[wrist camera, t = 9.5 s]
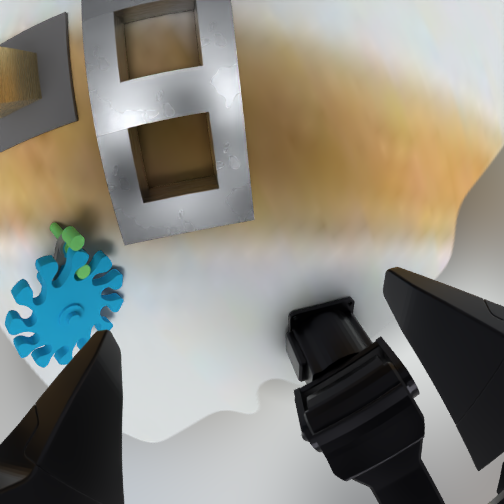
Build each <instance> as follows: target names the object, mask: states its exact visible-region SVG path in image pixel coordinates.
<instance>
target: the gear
mask: <svg viewBox="0 0 504 504" xmlns="http://www.w3.org/2000/svg"><path fill="white" fill-rule="evenodd" d="M50 230H51V232H52V233H53V234H54V235H55V237H56V238H57V239H58V240H57V243H56V248H55V254H54V258H53V257H52V255H47V256H44V257H41V258H39V259H37V260H36V263H35V266H36V269H37V270H38V273H37V279H38V280H39V282H40V284H41V285H42V289H41V293H40V295H39V296H37V297H35V298H33V291H32V289H31V288H30V286H29V284H28V282H27V281H26V280H24V279H22V280H20V281H19V282H18V283H17V284H16V285H15V286H14V287H13V288H12V290H11V293H12V295H13V297H14V299H15V301H16V302H17V303H18V304H19V305H24V306H27V307H29V308H30V309H32V310H33V313H32V315H31V316H30V317H29V318H27V319H23V318H21V317H20V315H19V313H18V312H17V311H14V310H11V311H9V312H8V314H7V316H6V320H5V326H6V328H7V330H8V332H9V334H11V335H17V334H19V333H22V332H33V333H35V334H34V335H33V336H31V337H25V336H17V337H15V338H14V345H15V347H16V349H17V351H18V353H19V355H20V356H21V358H24V357H26V356H28V355H29V354H30V353H31V352H32V351H33V350H34V349H35V350H34V351H33V352H32V354H31V355H32V357H33V359H34V361H35V362H36V364H37V365H39V366H41V367H43V368H44V367H46V366H47V365H48V364H49V361H50V359H51V357H52V356H53V354H54V353H55V354H54V357H55V358H56V360H57V361H58V363H59V364H61V365H65V364H68V363H69V362H70V361H71V360H72V351H73V348H74V346H75V345H76V343H77V346H78V348H79V349H81V348H82V347H83V346H84V345H85V344H86V343H87V341H88V340H89V339H90V334H91V329H92V327H93V326H94V325H95V328H96V329H97V330H98V331H100V330H106V329H107V330H110V329H111V328H112V327H113V324H112V323H111V322H110V321H109V320H108V319H107V318H106V317H103V316H101V315H100V311H101V309H102V308H103V307H104V306H108V308H109V309H110V310H111V311H112V312H118V310H119V309H120V307H121V305H122V303H123V299H122V298H121V297H120V296H119V295H118V294H117V293H112V294H109V295H101V293H102V291H103V290H104V289H105V288H107V287H110V288H112V289H114V290H117V289H119V288H120V287H121V286H122V283H123V275H122V274H121V273H120V272H119V271H118V270H117V269H112V270H110V268H111V267H112V262H111V260H110V259H109V258H108V257H107V256H106V255H105V254H104V253H103V252H102V251H101V250H100V251H98V252H96V253H95V255H94V256H93V258H92V260H91V261H90V263H89V264H87V261H88V259H89V255H88V254H87V252H86V251H85V250H84V249H83V248H82V247H83V245H84V242H85V240H84V237H83V236H82V235H81V234H80V233H79V232H78V231H77V230H76V229H75V228H74V227H72V226H68V227H66V228H65V229H64V230H63V229H62V228H61V227H60V226H59V225H58V224H57V223H52V224H51V226H50ZM108 270H110V271H109V272H108V273H107V274H105V275H104V276H102V277H100V278H97V279H93V277H94V276H95V275H96V274H98V273H104V272H107V271H108ZM77 341H78V342H77ZM43 345H45V346H44V347H41V348H38V347H40V346H43ZM36 348H37V349H36Z"/></svg>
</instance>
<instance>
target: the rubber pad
mask: <svg viewBox="0 0 504 504" xmlns="http://www.w3.org/2000/svg"><path fill="white" fill-rule="evenodd" d="M0 46H1V47H7V48H13V49H18V50H24V51H29V52H33V53H37V62H38V72H39V81H40V88H41V95H42V99H40V100H38V101H35V102H33V103H31V104H29V105H27V106H25V107H23V108H21V109H19V110H17V111H15V112H13V113H11V114H9V115H7V116H6V117H3V118H0V152H2V151H4V150H6V149H8V148H11V147H13V146H15V145H17V144H19V143H21V142H24V141H26V140H28V139H31V138H33V137H35V136H38V135H40V134H43V133H45V132H48V131H50V130H53V129H55V128H58V127H61V126H63V125H66V124H69V123H72V122H75V121H78V116H77V110H76V104H75V97H74V90H73V82H72V74H71V65H70V54H69V41H68V21H67V13H66V12H64V13H62V14H59V15H57V16H55V17H52V18H50V19H48V20H46V21H44V22H42V23H39V24H37V25H35V26H33V27H31V28H29V29H27V30H25V31H24V32H22V33H20V34H18V35H16V36H14V37H13V38H11V39H9V40H7V41H6V42H4V43H2V44H1V45H0Z"/></svg>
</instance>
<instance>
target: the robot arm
mask: <svg viewBox="0 0 504 504" xmlns="http://www.w3.org/2000/svg"><path fill="white" fill-rule="evenodd" d="M383 294H384V297H385V299H386V301H387V303H388V305H389V307H390V309H391V311H392V312H393V314H394V316H395V318H396V320H397V322H398V324H399V326H400V328H401V330H402V332H403V334H404V335H405V337H406V338H407V340H408V342H409V343H410V345H411V347H412V348H413V350H414V351H415V353H416V355H417V356H418V358H419V360H420V361H421V363H422V365H423V366H424V368H425V370H426V372H427V373H428V375H429V377H430V378H431V380H432V382H433V384H434V385H435V387H436V389H437V391H438V392H439V394H440V396H441V398H442V400H443V402H444V404H445V405H446V407H447V409H448V411H449V413H450V415H451V417H452V419H453V420H454V422H455V424H456V427H457V429H458V431H459V433H460V435H461V437H462V439H463V441H464V443H465V445H466V447H467V449H468V451H469V453H470V455H471V457H472V460H473V462H474V464H475V466H476V468H477V470H478V471H480V470H481V469H482V468H484V467H485V466H486V465H488V464H489V463H490V462H492V461H493V460H494V459H496V458H497V457H498V456H499V455H500V454H502V453H503V452H504V307H503V306H501V305H498V304H495V303H493V302H490V301H488V300H485V299H484V300H483V299H482V298H480V297H478V296H475V295H472V294H469V293H467V292H465V291H462V290H459V289H457V288H454V287H451V286H449V285H446V284H443V283H441V282H438V281H435V280H433V279H430V278H427V277H424V276H422V275H419V274H416V273H413V272H411V271H408V270H405V269H402V268H399V267H395V268H391V269H388V270H387V271H386V274H385V280H384V286H383ZM353 309H354V300H353V299H352V298H351V297H348V298H344V299H341V300H337V301H333V302H330V303H326V304H322V305H318V306H314V307H310V308H306V309H302V310H298V311H294V312H292V313H290V315H289V332H287V334H286V351H287V353H288V356H289V358H290V361H291V363H292V365H293V368H294V370H295V373H296V375H297V378H298V380H299V381H301V382H302V381H306V384H307V385H305V386H303V387H301V388H298V389H296V390H294V394H295V403H296V408H297V413H298V417H299V422H300V427H301V431H302V438H303V439H304V440H305V441H308V442H310V444H311V445H312V446H313V448H314V449H316V450H317V451H318V452H323V454H324V455H325V457H326V458H327V461H328V463H329V464H330V467H331V469H332V471H333V473H334V474H335V475H336V476H337V477H339V478H340V479H342V480H344V481H348V480H350V479H353V480H355V481H357V482H359V483H361V484H364V485H366V486H368V487H370V489H371V490H372V492H373V494H374V495H375V497H376V499H377V501H378V502H379V504H445V503H444V501H443V499H442V497H441V495H440V493H439V491H438V489H437V487H436V486H435V484H434V482H433V480H432V478H431V476H430V474H429V473H428V471H427V469H426V467H425V465H424V463H423V462H422V460H421V452H422V443H423V438H424V434H425V432H424V430H425V423H424V416H423V414H422V413H421V411H420V409H419V407H418V406H417V404H416V402H415V400H414V399H413V398H414V397H416V396H417V395H419V390H418V388H417V386H416V384H415V382H414V380H413V378H412V377H411V375H410V374H409V372H408V370H407V369H406V368H405V366H404V365H403V364H402V362H401V361H400V359H399V358H398V357H397V356H396V355H395V353H394V352H393V351H392V350H391V348H390V347H389V346H388V344H387V343H386V342H385V341H384V340H383V338H382V337H379V338H378V339H376V341H375V342H374V343H372V341H371V340H370V338H369V337H368V335H367V334H366V332H365V331H364V330H363V328H362V327H361V325H360V324H359V322H358V321H357V319H356V318H355V317H354V315H353ZM295 316H296V317H295ZM293 317H294V318H293ZM122 408H123V387H122V367H121V351H120V348H119V346H118V344H117V342H116V340H115V339H114V337H113V335H112V333H111V332H110V331H109V330H107V329H106V330H100V331H97V332H96V333H95V334H94V335H93V336H92V337H91V338H90V339H89V340H88V341H87V343H86V344H85V345H84V346H83V347H82V348H81V349H80V351H79V352H78V353H77V354H76V355H75V356H74V357H73V359H72V360H71V361H70V362H69V363H68V364H67V366H66V367H65V368H64V369H63V370H62V371H61V373H60V374H59V375H58V376H57V377H56V379H55V380H54V381H53V382H52V383H51V385H50V386H49V387H48V388H47V390H46V391H45V392H44V393H43V394H42V396H41V397H40V398H39V399H38V401H37V402H36V405H34V406H33V407H32V408H31V409H30V411H29V412H28V413H27V414H26V416H25V417H24V418H23V419H22V420H21V422H20V423H19V424H18V426H16V428H15V429H14V430H13V431H12V432H11V433H10V435H9V436H8V437H7V438H6V439H5V440H4V441H3V442H2V444H0V504H124V494H123V475H122ZM497 493H498V495H497V496H496V497H495V498H494V499H493V500H492V501H491V502H489V503H488V504H504V462H503V465H502V470H501V475H500V480H499V484H498V488H497Z"/></svg>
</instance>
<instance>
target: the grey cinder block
mask: <svg viewBox="0 0 504 504" xmlns="http://www.w3.org/2000/svg"><path fill="white" fill-rule="evenodd" d="M190 10H194V16H195V26H196V35H197V44H198V53H199V62H200V66H198V67H191V68H185V69H179V70H173V71H168V72H163V73H158V74H153V75H149V76H144V77H140V78H136V79H132V80H130V79H129V72H128V63H127V54H126V45H125V34H124V24H125V23H128V22H132V21H137V20H141V19H145V18H150V17H155V16H160V15H165V14H171V13H177V12H183V11H190ZM82 29H83V44H84V55H85V65H86V74H87V82H88V89H89V96H90V103H91V109H92V115H93V121H94V126H95V131H96V136H97V141H98V146H99V151H100V156H101V160H102V164H103V169H104V173H105V177H106V181H107V185H108V189H109V193H110V196H111V200H112V204H113V207H114V211H115V215H116V218H117V221H118V225H119V228H120V231H121V235H122V238H123V241H124V244H125V245H128V244H132V243H137V242H142V241H147V240H152V239H157V238H161V237H166V236H171V235H176V234H182V233H187V232H192V231H197V230H202V229H207V228H213V227H218V226H223V225H229V224H234V223H240V222H245V221H251V220H254V211H253V201H252V191H251V182H250V172H249V162H248V153H247V143H246V134H245V124H244V115H243V106H242V96H241V87H240V78H239V69H238V60H237V51H236V42H235V33H234V24H233V15H232V6H231V0H82ZM204 112H206V119H207V126H208V134H209V141H210V148H211V155H212V162H213V169H214V176H208V177H203V178H197V179H192V180H187V181H182V182H176V183H171V184H167V185H162V186H157V187H152V188H149V186H148V182H147V177H146V172H145V168H144V163H143V158H142V153H141V147H140V142H139V137H138V131H137V126H138V125H142V124H147V123H151V122H156V121H160V120H165V119H170V118H175V117H181V116H186V115H192V114H198V113H204Z"/></svg>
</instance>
